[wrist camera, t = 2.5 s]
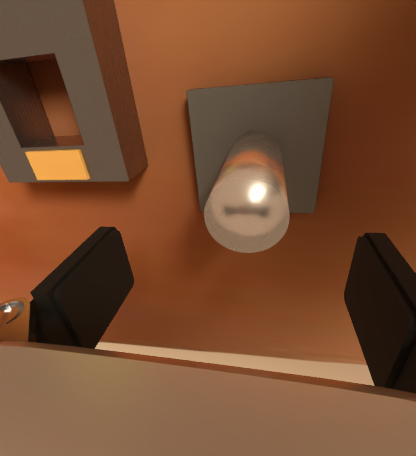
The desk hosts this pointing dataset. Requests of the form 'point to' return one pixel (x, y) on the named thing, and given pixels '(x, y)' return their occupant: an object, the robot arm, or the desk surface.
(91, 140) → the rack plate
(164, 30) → the desk surface
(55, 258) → the desk surface
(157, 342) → the desk surface
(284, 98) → the pad
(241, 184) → the peg
